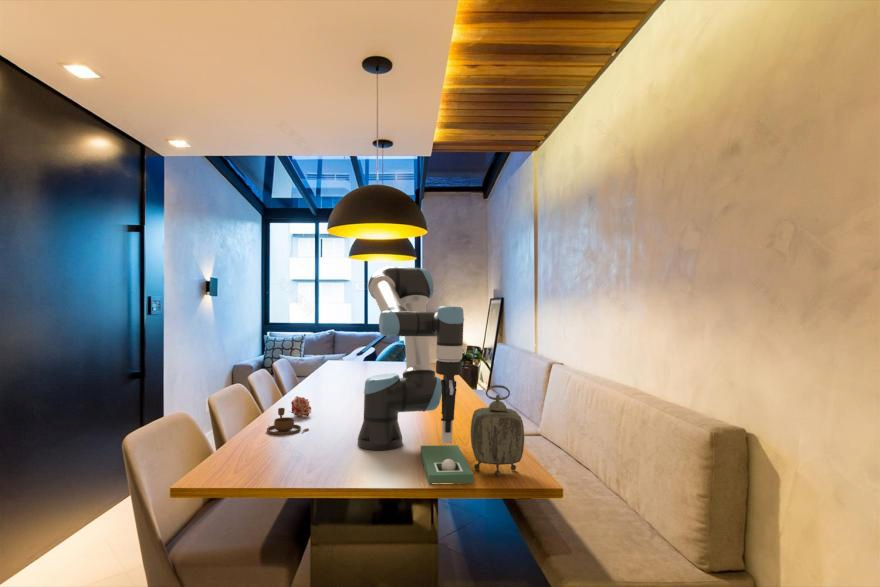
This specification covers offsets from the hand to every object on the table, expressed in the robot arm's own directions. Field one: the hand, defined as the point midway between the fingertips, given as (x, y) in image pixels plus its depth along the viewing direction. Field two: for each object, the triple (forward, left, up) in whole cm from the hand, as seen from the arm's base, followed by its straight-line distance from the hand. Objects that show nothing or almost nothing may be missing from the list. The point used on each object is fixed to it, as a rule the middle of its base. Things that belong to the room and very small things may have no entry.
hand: (446, 442), depth 131 cm
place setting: (-54, +50, -9) cm, 74 cm away
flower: (-52, +68, -9) cm, 86 cm away
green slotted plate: (0, +4, -8) cm, 9 cm away
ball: (0, -2, -6) cm, 6 cm away
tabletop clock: (+14, -2, -9) cm, 17 cm away
